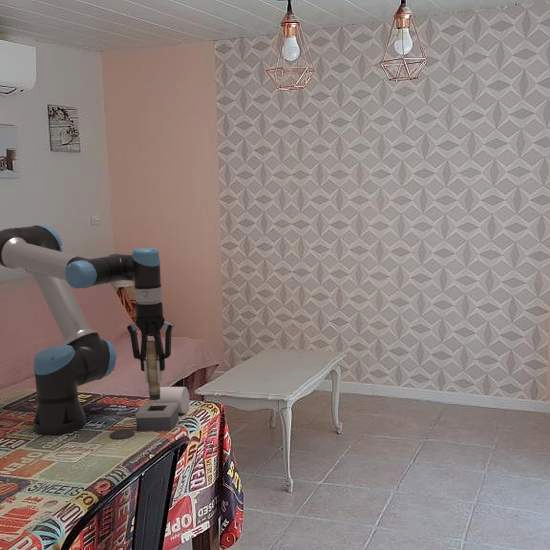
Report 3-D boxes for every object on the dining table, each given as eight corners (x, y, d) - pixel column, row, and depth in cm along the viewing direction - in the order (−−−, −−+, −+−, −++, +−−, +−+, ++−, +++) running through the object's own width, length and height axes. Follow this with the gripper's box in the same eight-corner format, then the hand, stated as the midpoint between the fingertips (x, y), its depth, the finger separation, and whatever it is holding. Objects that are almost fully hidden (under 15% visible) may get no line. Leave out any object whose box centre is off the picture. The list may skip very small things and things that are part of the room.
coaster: (106, 439, 209) (106, 438, 209) (113, 431, 216) (113, 429, 216) (130, 439, 209) (130, 437, 209) (137, 430, 216) (137, 429, 216)
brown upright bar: (151, 397, 221) (147, 340, 218) (161, 396, 220) (158, 340, 218) (148, 400, 218) (144, 343, 215) (159, 400, 217) (155, 342, 215)
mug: (182, 416, 227) (180, 391, 226) (150, 416, 229) (148, 391, 228) (194, 404, 239) (192, 380, 238) (164, 404, 241) (162, 380, 240)
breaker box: (136, 431, 215) (135, 413, 215) (146, 420, 225) (144, 403, 224) (171, 430, 214) (169, 413, 214) (178, 419, 224) (177, 402, 223)
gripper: (117, 305, 212) (123, 385, 215) (173, 303, 211) (178, 384, 214) (125, 300, 220) (130, 378, 223) (179, 299, 218) (183, 377, 221)
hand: (153, 381), depth 218 cm, fingers closed on brown upright bar, 3 cm apart
